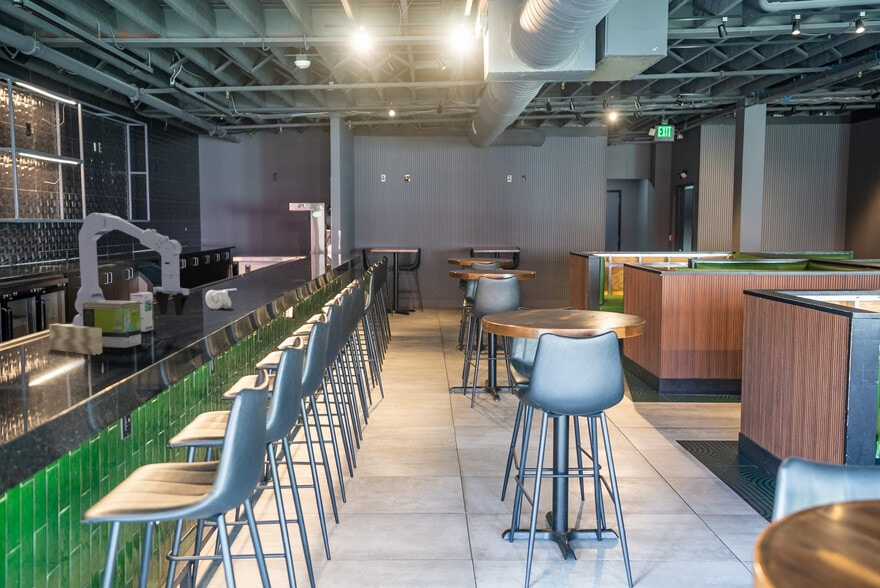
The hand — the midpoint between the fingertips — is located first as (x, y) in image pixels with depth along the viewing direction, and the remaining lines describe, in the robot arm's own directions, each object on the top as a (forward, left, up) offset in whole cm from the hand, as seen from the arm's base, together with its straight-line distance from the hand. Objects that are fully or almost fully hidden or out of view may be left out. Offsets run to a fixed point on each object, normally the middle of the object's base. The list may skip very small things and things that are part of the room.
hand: (171, 314), depth 248 cm
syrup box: (-29, +14, -10) cm, 34 cm away
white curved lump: (-54, +84, -10) cm, 100 cm away
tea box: (-11, -15, -10) cm, 21 cm away
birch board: (-11, -29, -9) cm, 32 cm away
